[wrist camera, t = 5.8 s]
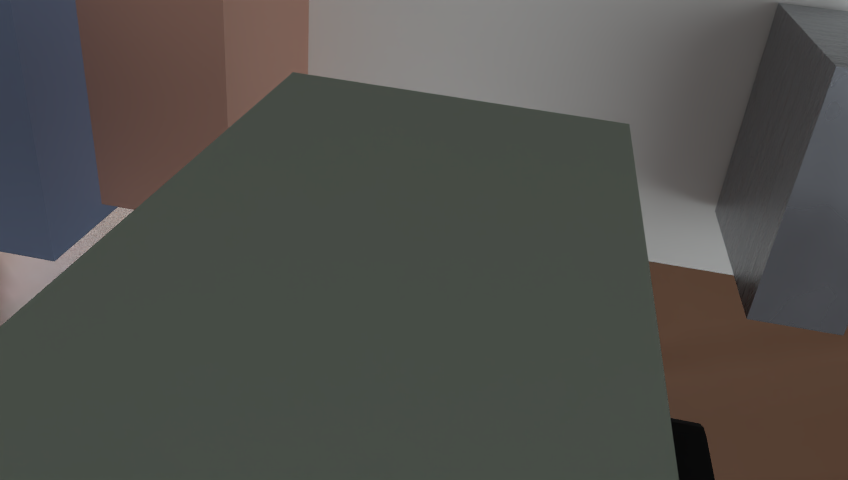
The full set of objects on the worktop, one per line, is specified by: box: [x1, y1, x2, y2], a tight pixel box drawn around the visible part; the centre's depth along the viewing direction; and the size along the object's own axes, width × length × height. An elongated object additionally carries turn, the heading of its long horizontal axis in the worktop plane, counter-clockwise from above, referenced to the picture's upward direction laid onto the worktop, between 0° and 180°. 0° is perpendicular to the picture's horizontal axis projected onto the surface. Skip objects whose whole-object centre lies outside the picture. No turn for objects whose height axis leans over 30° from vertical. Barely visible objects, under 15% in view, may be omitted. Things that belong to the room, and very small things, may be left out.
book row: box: [0, 0, 309, 261], centre depth 24 cm, size 8×8×10 cm
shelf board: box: [308, 0, 848, 275], centre depth 27 cm, size 12×26×1 cm, turn 85°
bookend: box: [715, 3, 848, 335], centre depth 22 cm, size 7×2×6 cm, turn 175°
